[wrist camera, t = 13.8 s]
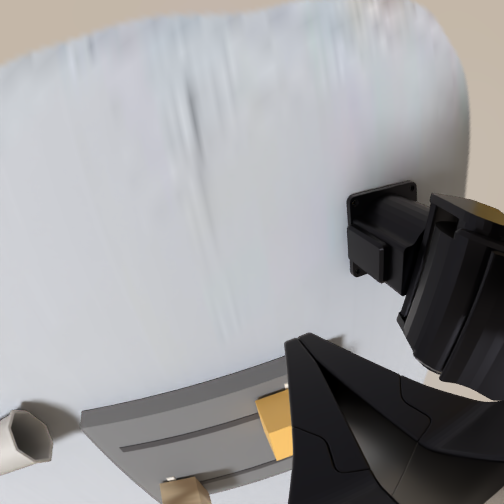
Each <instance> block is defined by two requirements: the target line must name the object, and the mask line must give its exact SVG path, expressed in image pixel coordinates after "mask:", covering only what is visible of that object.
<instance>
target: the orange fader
mask: <svg viewBox="0 0 504 504" xmlns="http://www.w3.org/2000/svg"><path fill="white" fill-rule="evenodd" d="M255 403H256V406H257V410H258V413H259V416H260V419H261V423H262V426H263V429H264V432H265V434H266V437H267V439H268V441H269V444H270V446H271V448H272V451H273V453H274V455H275V458H276V460H277V461H278V460H281V459H284V458H286V457H289V456H292V455H293V443H292V426H291V414H290V402H289V391H288V389H287V390H284V391H282V392H279V393H276V394H273V395H270V396H268V397H265V398H262V399H259V400H256V401H255Z"/></svg>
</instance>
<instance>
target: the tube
mask: <svg viewBox="0 0 504 504" xmlns="http://www.w3.org/2000/svg"><path fill="white" fill-rule="evenodd" d="M52 449H53V441H52V439H51V436H50V433H49V431H48V428H47V426H46V425H45V424H44V423H43V422H41V421H40V420H39V419H37V418H36V417H35V416H33V415H32V414H31V413H29V412H28V411H25V410H12V411H10V415H9V416H7V417H6V418H4V419H2V420H0V475H3V474H7V473H10V472H13V471H16V470H19V469H22V468H25V467H27V466H30V465H33V464H36V463H42V462H49V461H51V458H52Z"/></svg>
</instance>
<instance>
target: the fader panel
mask: <svg viewBox="0 0 504 504" xmlns="http://www.w3.org/2000/svg"><path fill="white" fill-rule="evenodd" d="M287 389H288V379H287V368H286V358H285V356H284V357H281V358H278V359H275V360H273V361H270V362H267V363H264V364H261V365H258V366H255V367H252V368H249V369H246V370H243V371H240V372H237V373H234V374H231V375H227V376H224V377H221V378H218V379H214V380H211V381H208V382H204V383H201V384H197V385H194V386H190V387H187V388H183V389H179V390H175V391H172V392H168V393H164V394H160V395H156V396H152V397H148V398H144V399H139V400H135V401H131V402H126V403H121V404H117V405H112V406H107V407H102V408H97V409H92V410H86V411H82V414H81V424H80V429H81V430H82V431H83V432H84V433H85V434H86V436H87V437H88V438H89V439H90V440H91V441H92V442H93V443H94V444H95V445H96V446H97V447H98V448H99V449H100V450H101V451H102V452H103V453H104V454H105V455H106V456H107V457H108V458H109V459H110V460H111V461H112V462H113V463H114V464H115V465H116V466H117V467H118V468H119V469H120V470H121V471H123V472H124V473H125V474H126V475H127V476H128V477H129V478H130V479H131V480H133V481H134V482H135V483H136V484H137V485H138V486H139V487H141V488H142V489H143V490H144V491H145V492H147V493H148V494H149V495H150V496H151V497H153V498H154V499H155V500H156V501H158V502H159V503H160V504H163V503H162V497H161V491H160V483H165V482H171V481H176V480H181V479H185V478H190V477H194V476H195V477H196V479H197V480H198V481H199V482H200V483H201V484H202V485H203V487H204V488H205V489H206V490H207V491H208V493H209V495H210V494H214V493H218V492H222V491H226V490H230V489H233V488H237V487H240V486H244V485H247V484H251V483H254V482H257V481H260V480H263V479H266V478H269V477H272V476H275V475H278V474H281V473H284V472H287V471H289V470H292V460H293V455H292V456H289V457H286V458H284V459H281V460H278V461H277V460H276V458H275V455H274V453H273V451H272V448H271V446H270V444H269V441H268V439H267V437H266V434H265V432H264V429H263V426H262V423H261V419H260V416H259V413H258V410H257V406H256V403H255V401H256V400H259V399H262V398H265V397H268V396H270V395H273V394H276V393H279V392H282V391H284V390H287Z"/></svg>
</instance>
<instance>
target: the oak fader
mask: <svg viewBox="0 0 504 504" xmlns="http://www.w3.org/2000/svg"><path fill="white" fill-rule="evenodd" d="M160 491H161V497H162V503H163V504H211V500H210V496H209V493H208V491H207V490H206V489H205V488H204V487H203V485H202V484H201V483H200V482H199V481H198V480H197V479H196V477H195V476H194V477H190V478H185V479H181V480H176V481H171V482H165V483H160Z"/></svg>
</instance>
